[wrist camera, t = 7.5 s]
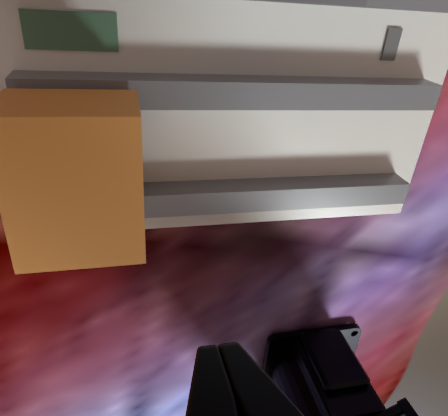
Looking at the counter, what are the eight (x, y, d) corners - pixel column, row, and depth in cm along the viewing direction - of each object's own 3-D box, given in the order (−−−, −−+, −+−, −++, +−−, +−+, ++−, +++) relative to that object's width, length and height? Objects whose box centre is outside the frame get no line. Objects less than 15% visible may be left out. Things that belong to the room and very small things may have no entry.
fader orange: (139, 203, 17) (145, 263, 14) (36, 208, 16) (14, 274, 13) (135, 80, 15) (141, 116, 11) (12, 78, 14) (-23, 116, 10)
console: (379, 194, 23) (414, 225, 20) (25, 212, 19) (10, 254, 16) (494, -201, 15) (578, -237, 12) (-81, -319, 11) (-148, -414, 8)
